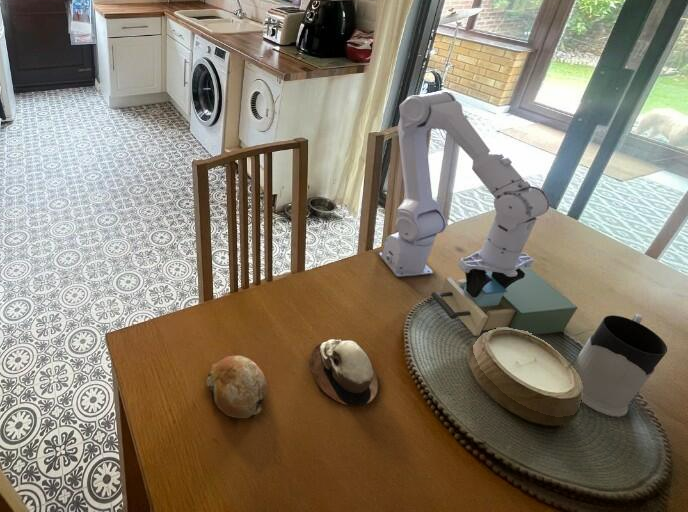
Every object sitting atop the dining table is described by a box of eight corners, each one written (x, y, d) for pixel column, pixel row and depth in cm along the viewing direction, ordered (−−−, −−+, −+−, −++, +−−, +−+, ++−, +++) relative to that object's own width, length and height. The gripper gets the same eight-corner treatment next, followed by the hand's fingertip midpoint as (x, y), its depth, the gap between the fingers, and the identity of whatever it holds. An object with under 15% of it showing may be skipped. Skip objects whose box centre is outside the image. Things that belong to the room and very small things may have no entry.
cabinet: (508, 337, 84) (521, 313, 81) (466, 293, 94) (476, 269, 91) (563, 331, 85) (578, 307, 82) (515, 288, 96) (526, 265, 93)
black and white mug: (556, 385, 75) (592, 329, 68) (577, 344, 83) (611, 290, 76) (622, 427, 69) (668, 369, 62) (638, 378, 76) (681, 322, 70)
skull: (293, 348, 80) (330, 313, 79) (323, 364, 85) (358, 331, 83) (328, 409, 70) (371, 370, 68) (360, 423, 74) (401, 387, 72)
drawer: (454, 338, 83) (462, 319, 80) (420, 297, 92) (426, 279, 90) (525, 330, 84) (534, 312, 82) (485, 290, 94) (492, 273, 91)
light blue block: (478, 308, 84) (485, 292, 82) (461, 289, 88) (467, 275, 86) (500, 305, 84) (507, 290, 83) (481, 287, 89) (488, 273, 87)
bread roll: (239, 439, 70) (262, 426, 65) (193, 394, 72) (211, 378, 68) (260, 390, 78) (282, 374, 73) (218, 350, 80) (236, 333, 75)
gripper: (487, 259, 76) (464, 311, 81) (557, 253, 77) (530, 304, 83) (459, 234, 82) (440, 284, 88) (524, 229, 83) (501, 278, 89)
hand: (482, 292), depth 86 cm, fingers closed on light blue block, 4 cm apart
